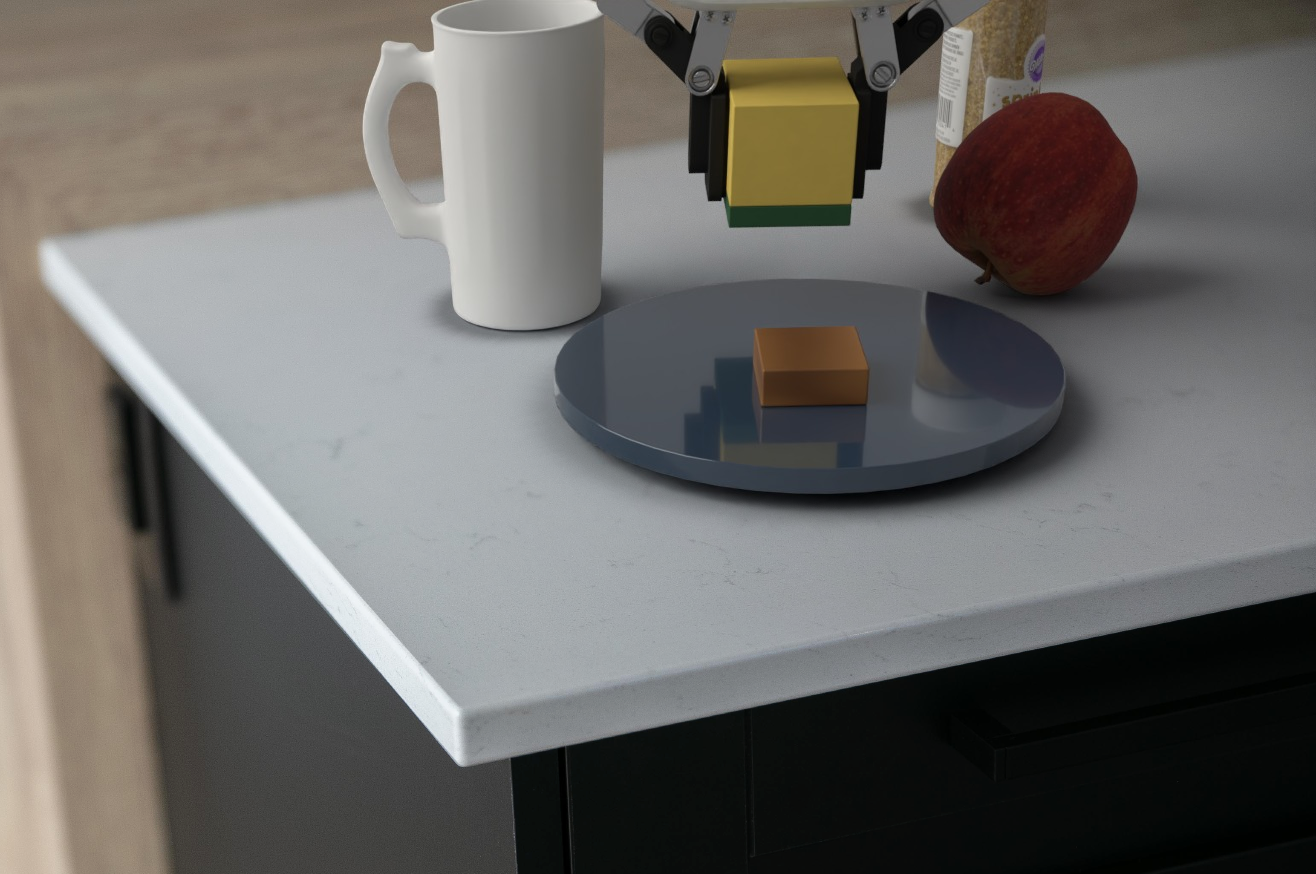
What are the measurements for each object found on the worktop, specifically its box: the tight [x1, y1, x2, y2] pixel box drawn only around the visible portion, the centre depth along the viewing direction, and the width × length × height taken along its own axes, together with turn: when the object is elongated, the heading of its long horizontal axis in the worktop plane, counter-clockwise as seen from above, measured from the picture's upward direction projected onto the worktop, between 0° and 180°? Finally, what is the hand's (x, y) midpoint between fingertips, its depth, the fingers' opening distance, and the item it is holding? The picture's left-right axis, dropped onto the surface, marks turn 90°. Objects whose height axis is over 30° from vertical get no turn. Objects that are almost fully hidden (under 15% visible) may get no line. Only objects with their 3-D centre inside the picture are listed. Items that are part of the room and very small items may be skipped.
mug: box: [362, 0, 606, 331], centre depth 76 cm, size 10×7×12 cm, turn 74°
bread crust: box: [753, 326, 870, 407], centre depth 65 cm, size 4×4×1 cm
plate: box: [553, 278, 1066, 495], centre depth 68 cm, size 18×18×2 cm
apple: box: [932, 91, 1139, 296], centre depth 74 cm, size 7×8×8 cm
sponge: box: [722, 56, 859, 229], centre depth 70 cm, size 7×4×4 cm, turn 174°
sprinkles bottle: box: [928, 0, 1049, 208], centre depth 83 cm, size 5×5×14 cm
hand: (782, 185), depth 71 cm, fingers closed on sponge, 4 cm apart
